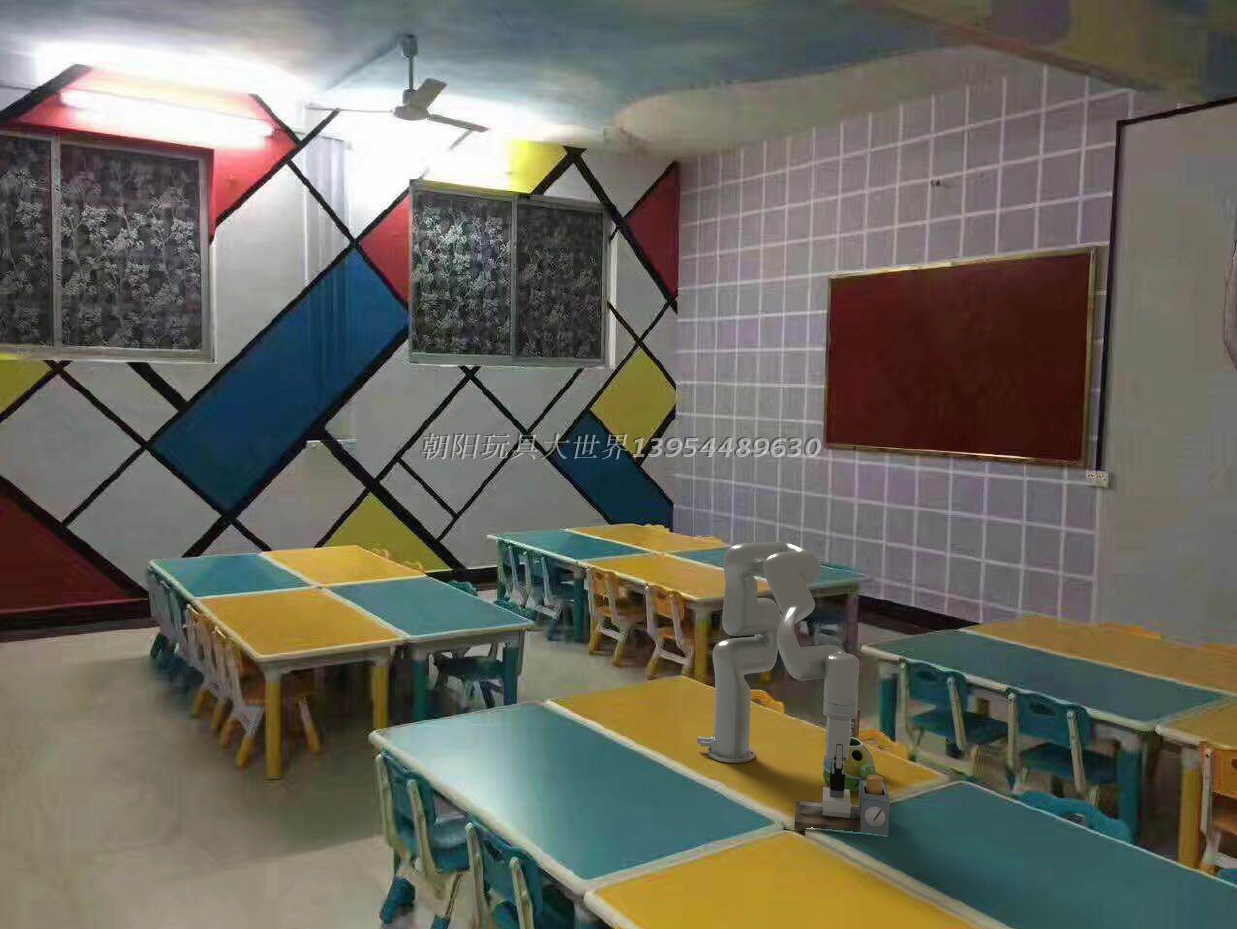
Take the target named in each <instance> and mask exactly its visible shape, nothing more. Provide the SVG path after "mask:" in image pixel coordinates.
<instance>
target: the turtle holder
mask: <svg viewBox="0 0 1237 929" xmlns="http://www.w3.org/2000/svg"><path fill="white" fill-rule="evenodd" d="M831 762H832V760H829V761H827V760H826V753H825V755H824V758H823V763H822V767H823V772H822V776H823V779H824V780H823V782H824V783H825V784H826V785H830V766H831ZM868 775H878V773H877V771H876V766H875V762H874V758H873V755H872V754H871V752H870V751H869V750H868V747H866V746H865V745H864V742H863V741H862V740H860V739H857V738H853V737H850V748H849V756H848V761H847V762H846V763H845V789H848V790H850V792H857V793H859V781H860V780H867V776H868Z"/></svg>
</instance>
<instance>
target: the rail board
mask: <svg viewBox="0 0 1237 929" xmlns="http://www.w3.org/2000/svg"><path fill="white" fill-rule="evenodd" d="M811 827H813V828H821V829H832V830H844V831H853V832H861V827H860V817H859V808H858V806H854V805H851V808H850V818H847V817H837V816H826V815H823V802H821V803H820V802H813V801H811V802H810V801H801V800H795V803H794V824H793V828H794V829H800V830H802V829H801V828H803V830H805V829H804V828H811Z"/></svg>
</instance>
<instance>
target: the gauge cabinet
mask: <svg viewBox="0 0 1237 929" xmlns="http://www.w3.org/2000/svg"><path fill="white" fill-rule="evenodd" d="M866 781H867V780H860V781H859V792H858V805H857V807H858V808H859V817H860V827H861V832H863V833H872V834H879V835H888V836H889V827H890V806H891V805H890V797H889V792H888V791H889V790H888V786H887V781H883V790H882V795H876V794H866Z"/></svg>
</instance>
